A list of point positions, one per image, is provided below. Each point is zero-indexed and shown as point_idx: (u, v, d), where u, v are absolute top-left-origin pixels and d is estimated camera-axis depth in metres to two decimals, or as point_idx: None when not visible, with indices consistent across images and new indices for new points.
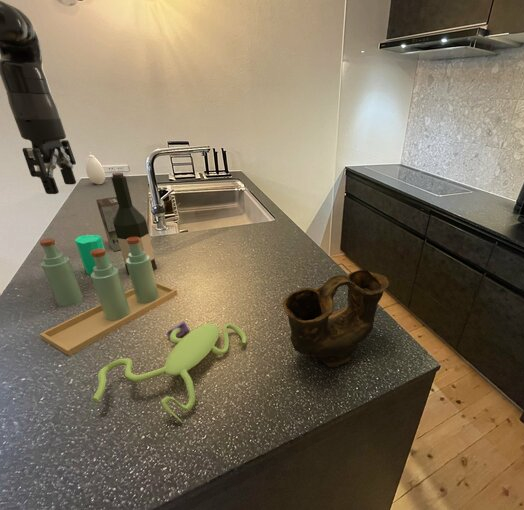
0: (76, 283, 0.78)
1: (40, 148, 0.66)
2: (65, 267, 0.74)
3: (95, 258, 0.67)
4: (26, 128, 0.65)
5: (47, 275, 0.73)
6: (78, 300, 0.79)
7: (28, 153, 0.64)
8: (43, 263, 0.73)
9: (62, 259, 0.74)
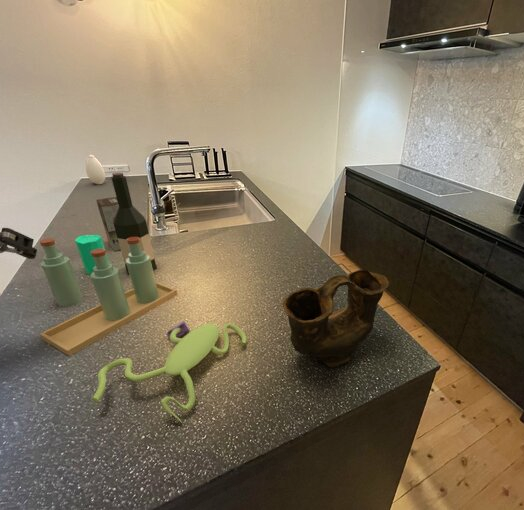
0: (76, 283, 0.78)
1: None
2: (65, 267, 0.74)
3: (95, 258, 0.67)
4: None
5: (47, 275, 0.73)
6: (78, 300, 0.79)
7: None
8: (43, 263, 0.73)
9: (62, 259, 0.74)
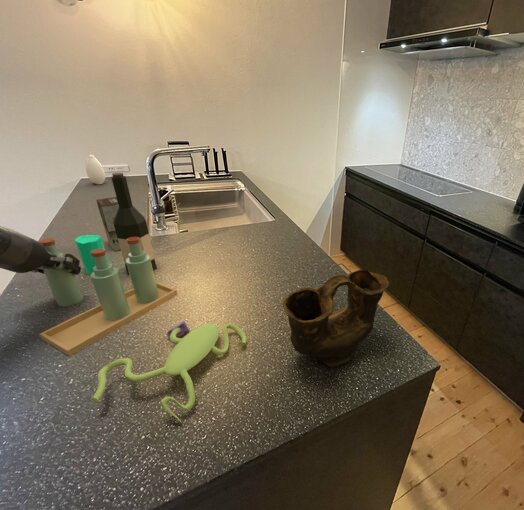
0: (76, 283, 0.78)
1: None
2: None
3: (95, 258, 0.67)
4: None
5: (47, 275, 0.73)
6: (78, 300, 0.79)
7: None
8: None
9: None
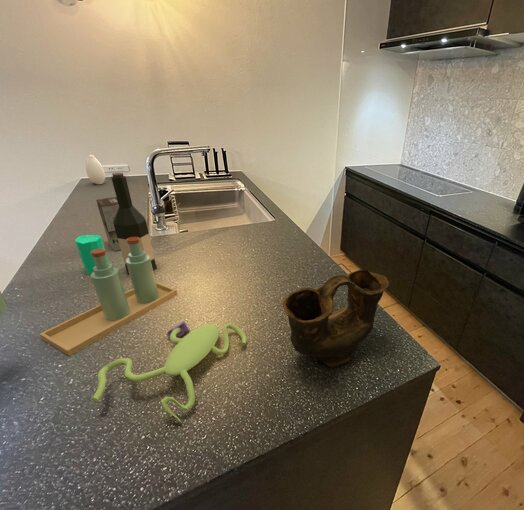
0: None
1: None
2: None
3: (95, 258, 0.67)
4: None
5: None
6: None
7: None
8: None
9: None
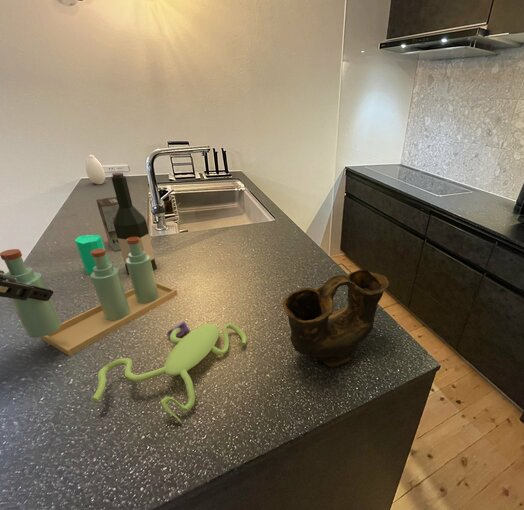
0: (44, 311, 0.59)
1: None
2: None
3: (95, 258, 0.67)
4: None
5: None
6: (44, 331, 0.60)
7: None
8: None
9: (25, 279, 0.56)
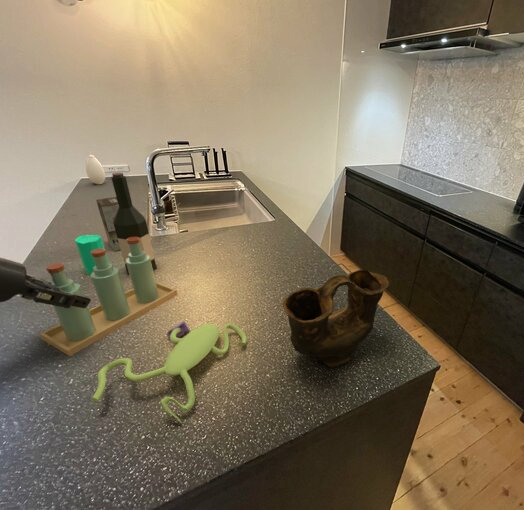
0: (82, 317, 0.66)
1: None
2: None
3: (95, 258, 0.67)
4: None
5: None
6: (82, 336, 0.67)
7: None
8: None
9: (67, 289, 0.63)
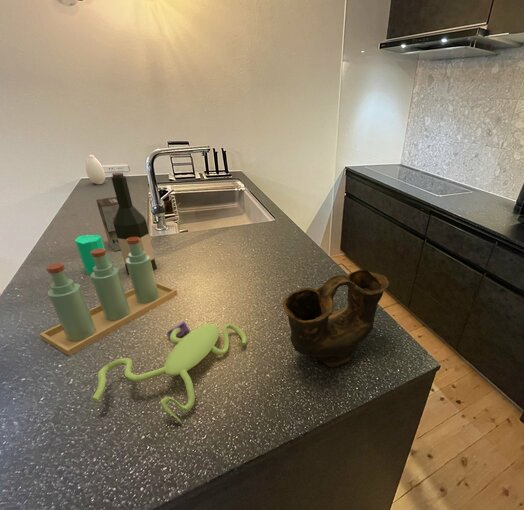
0: (82, 317, 0.66)
1: None
2: (66, 299, 0.62)
3: (95, 258, 0.67)
4: None
5: None
6: (82, 336, 0.67)
7: None
8: None
9: (67, 289, 0.63)
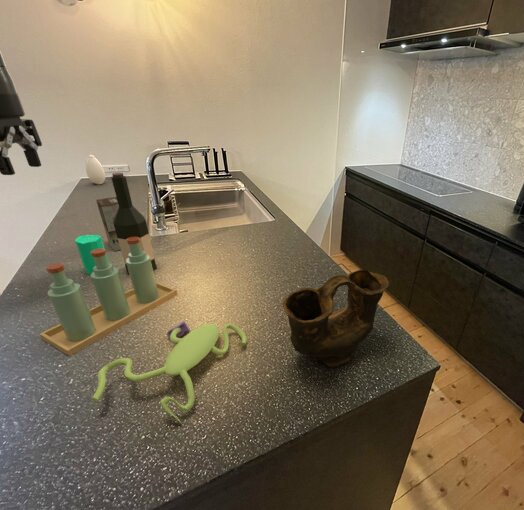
0: (82, 317, 0.66)
1: None
2: (66, 299, 0.62)
3: (95, 258, 0.67)
4: None
5: None
6: (82, 336, 0.67)
7: None
8: None
9: (67, 289, 0.63)
